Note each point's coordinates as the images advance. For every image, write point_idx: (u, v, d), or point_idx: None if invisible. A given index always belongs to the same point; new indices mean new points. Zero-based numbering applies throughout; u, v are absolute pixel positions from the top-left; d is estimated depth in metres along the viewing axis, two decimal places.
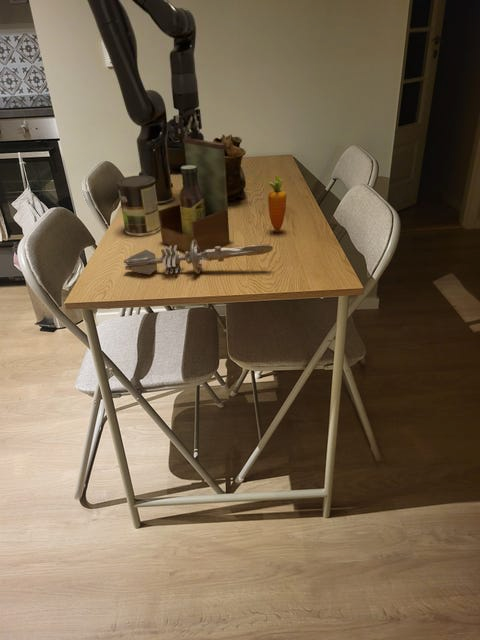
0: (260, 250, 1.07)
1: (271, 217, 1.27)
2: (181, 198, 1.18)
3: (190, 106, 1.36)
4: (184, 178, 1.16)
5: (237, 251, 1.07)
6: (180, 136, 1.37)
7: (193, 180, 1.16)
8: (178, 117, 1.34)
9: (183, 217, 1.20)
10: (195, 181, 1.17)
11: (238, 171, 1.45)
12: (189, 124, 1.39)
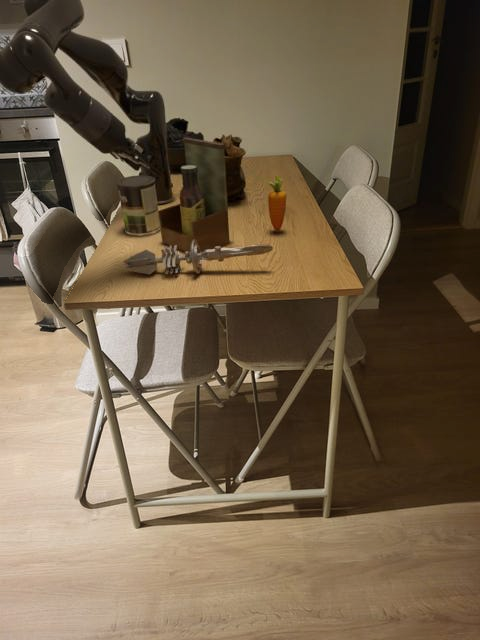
0: (260, 250, 1.07)
1: (271, 217, 1.27)
2: (181, 198, 1.18)
3: (123, 127, 0.96)
4: (184, 178, 1.16)
5: (237, 251, 1.07)
6: (156, 159, 1.00)
7: (193, 180, 1.16)
8: (138, 145, 0.96)
9: (183, 217, 1.20)
10: (195, 181, 1.17)
11: (238, 171, 1.45)
12: None
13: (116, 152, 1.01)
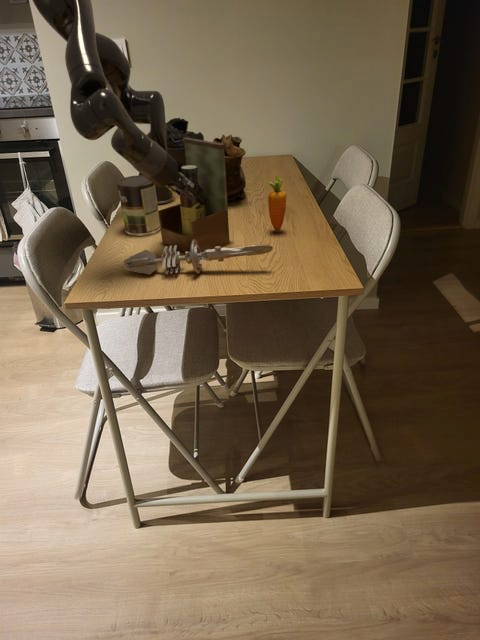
0: (260, 250, 1.07)
1: (271, 217, 1.27)
2: (181, 197, 1.18)
3: (176, 163, 1.09)
4: None
5: (237, 251, 1.07)
6: (202, 192, 1.13)
7: None
8: (191, 181, 1.09)
9: (183, 217, 1.20)
10: None
11: (238, 171, 1.45)
12: None
13: (167, 184, 1.14)
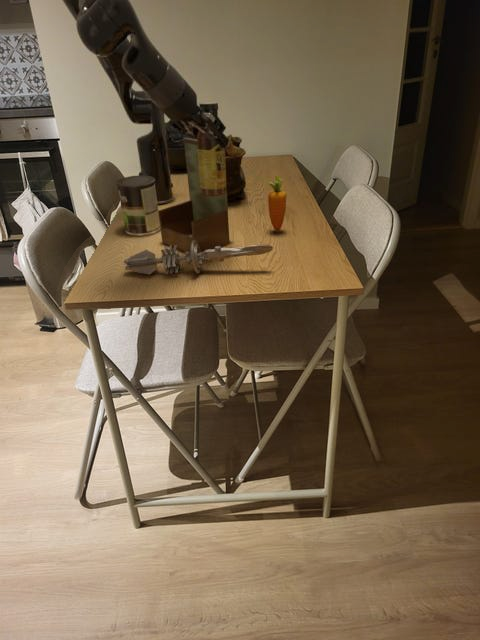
0: (260, 250, 1.07)
1: (271, 217, 1.27)
2: (199, 138, 1.05)
3: (195, 94, 0.96)
4: None
5: (237, 251, 1.07)
6: (224, 129, 1.00)
7: None
8: (212, 114, 0.96)
9: (201, 162, 1.07)
10: None
11: (238, 171, 1.45)
12: None
13: (184, 120, 1.00)
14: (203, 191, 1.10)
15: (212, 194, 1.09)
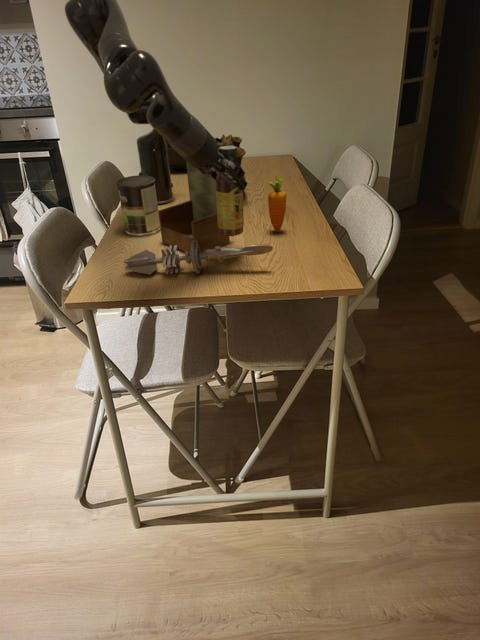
0: (260, 250, 1.07)
1: (271, 217, 1.27)
2: (218, 181, 1.07)
3: (216, 142, 0.98)
4: None
5: (237, 251, 1.07)
6: (243, 174, 1.02)
7: None
8: (233, 162, 0.98)
9: (219, 203, 1.09)
10: None
11: None
12: None
13: (204, 166, 1.03)
14: (221, 231, 1.12)
15: (230, 234, 1.12)
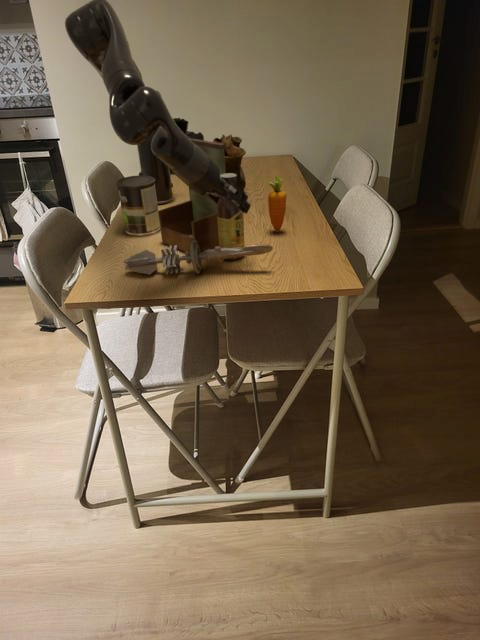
0: (260, 250, 1.07)
1: (271, 217, 1.27)
2: (219, 208, 1.10)
3: (218, 168, 1.01)
4: None
5: (237, 251, 1.07)
6: (246, 198, 1.04)
7: None
8: (233, 186, 1.00)
9: (221, 228, 1.12)
10: None
11: (238, 171, 1.45)
12: (228, 184, 1.05)
13: (207, 191, 1.06)
14: None
15: (231, 258, 1.15)
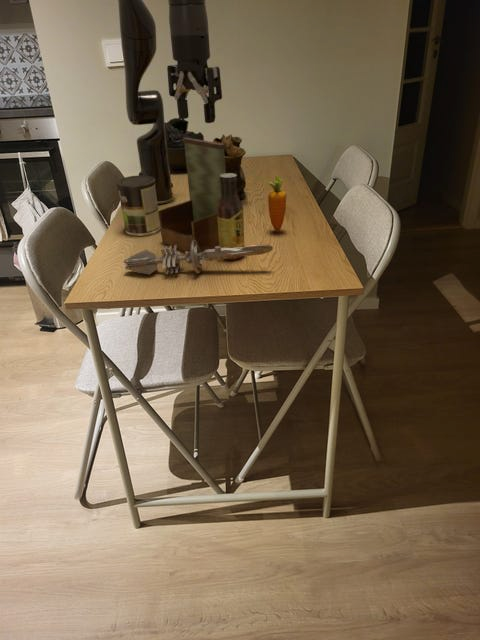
0: (260, 250, 1.07)
1: (271, 217, 1.27)
2: (219, 208, 1.10)
3: (209, 53, 0.95)
4: (223, 187, 1.08)
5: (237, 251, 1.07)
6: (219, 97, 0.95)
7: (233, 190, 1.08)
8: (216, 69, 0.93)
9: (221, 228, 1.12)
10: (235, 190, 1.09)
11: (238, 171, 1.45)
12: None
13: (184, 74, 0.96)
14: None
15: (231, 258, 1.15)
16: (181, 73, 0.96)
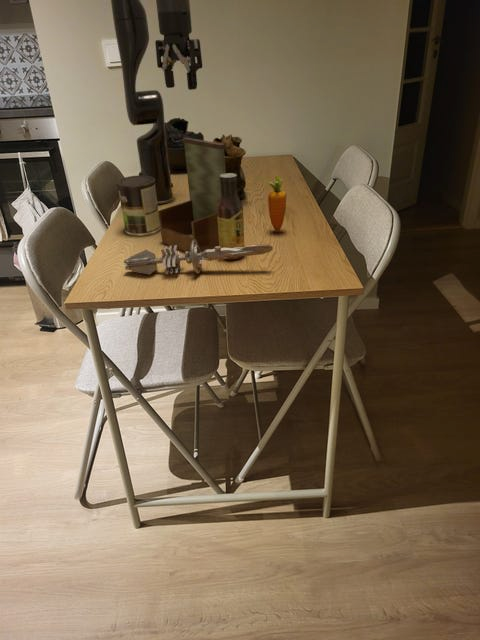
0: (260, 250, 1.07)
1: (271, 217, 1.27)
2: (219, 208, 1.10)
3: (191, 28, 1.10)
4: (223, 187, 1.08)
5: (237, 251, 1.07)
6: (200, 66, 1.10)
7: (233, 190, 1.08)
8: (197, 41, 1.07)
9: (221, 228, 1.12)
10: (235, 190, 1.09)
11: (238, 171, 1.45)
12: None
13: (170, 46, 1.11)
14: None
15: (231, 258, 1.15)
16: (167, 46, 1.11)
